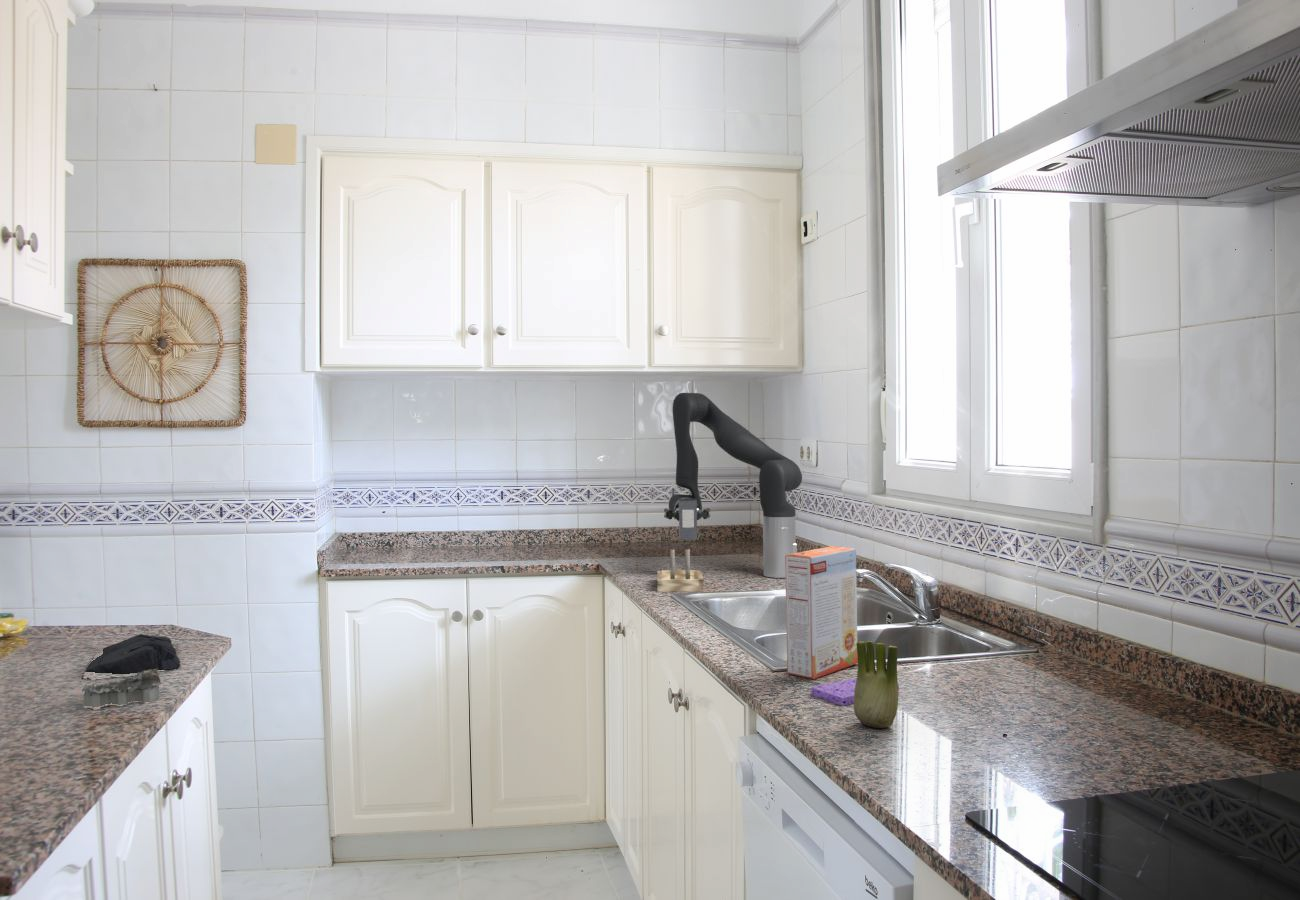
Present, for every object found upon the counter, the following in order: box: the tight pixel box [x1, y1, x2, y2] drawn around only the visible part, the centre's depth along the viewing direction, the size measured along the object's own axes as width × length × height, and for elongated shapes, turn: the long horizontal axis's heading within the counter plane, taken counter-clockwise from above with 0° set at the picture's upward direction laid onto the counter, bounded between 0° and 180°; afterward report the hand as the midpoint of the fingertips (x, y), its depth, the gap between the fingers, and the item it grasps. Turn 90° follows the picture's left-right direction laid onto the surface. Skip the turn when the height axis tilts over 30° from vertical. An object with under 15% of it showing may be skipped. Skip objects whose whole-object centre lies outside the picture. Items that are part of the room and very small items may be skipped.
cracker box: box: [784, 545, 858, 680], centre depth 156 cm, size 14×6×21 cm, turn 135°
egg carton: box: [81, 668, 162, 707], centre depth 141 cm, size 11×8×4 cm
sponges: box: [810, 677, 900, 707], centre depth 142 cm, size 7×13×2 cm, turn 123°
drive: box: [678, 499, 698, 541], centre depth 255 cm, size 5×7×11 cm
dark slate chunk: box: [84, 634, 181, 674], centre depth 165 cm, size 15×22×5 cm
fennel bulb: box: [853, 640, 899, 729], centre depth 127 cm, size 6×5×12 cm
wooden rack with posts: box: [656, 549, 705, 593], centre depth 241 cm, size 12×16×10 cm
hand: (688, 516), depth 252 cm, fingers closed on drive, 5 cm apart
